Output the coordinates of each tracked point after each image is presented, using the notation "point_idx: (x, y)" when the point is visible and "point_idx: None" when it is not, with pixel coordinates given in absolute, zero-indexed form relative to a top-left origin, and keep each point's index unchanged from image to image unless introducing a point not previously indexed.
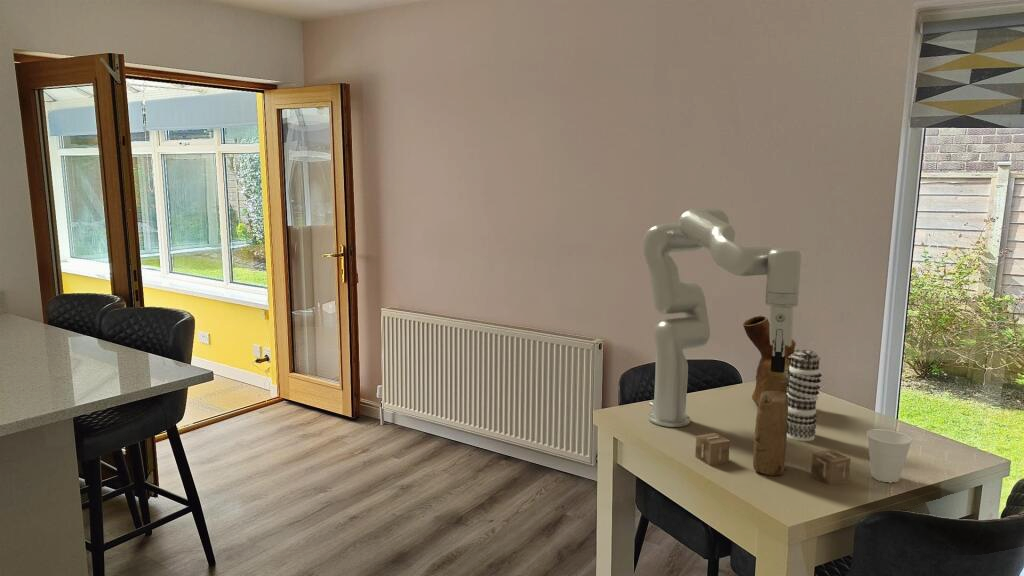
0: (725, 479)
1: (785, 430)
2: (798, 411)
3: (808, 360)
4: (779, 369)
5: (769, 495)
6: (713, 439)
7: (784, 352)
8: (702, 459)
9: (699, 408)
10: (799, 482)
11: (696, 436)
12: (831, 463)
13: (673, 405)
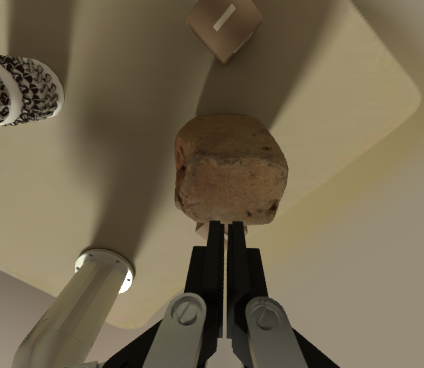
0: (285, 191)
1: (266, 132)
2: (14, 98)
3: None
4: (258, 250)
5: (327, 132)
6: (226, 231)
7: (202, 319)
8: None
9: (28, 242)
10: (262, 86)
11: None
12: (262, 19)
13: (110, 289)
